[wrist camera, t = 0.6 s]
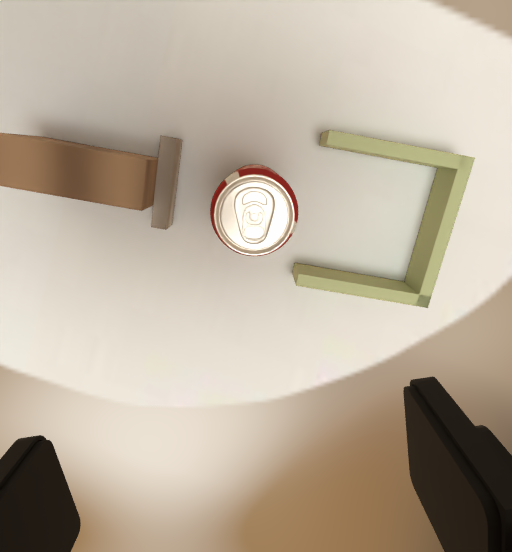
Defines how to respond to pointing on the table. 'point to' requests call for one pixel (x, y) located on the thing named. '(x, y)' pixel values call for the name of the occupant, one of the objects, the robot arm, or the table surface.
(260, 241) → the soda can
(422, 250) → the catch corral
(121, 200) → the scraper
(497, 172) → the table surface
